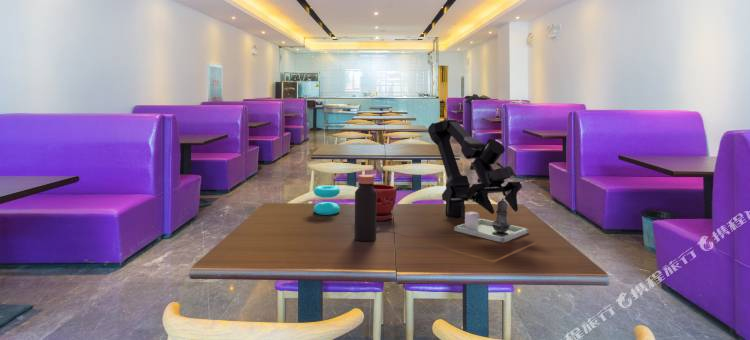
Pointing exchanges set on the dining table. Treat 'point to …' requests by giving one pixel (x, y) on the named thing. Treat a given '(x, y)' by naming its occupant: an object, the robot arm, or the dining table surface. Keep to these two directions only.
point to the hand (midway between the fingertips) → (505, 212)
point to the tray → (491, 231)
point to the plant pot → (385, 201)
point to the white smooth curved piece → (471, 220)
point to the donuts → (326, 207)
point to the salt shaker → (501, 220)
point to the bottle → (365, 209)
